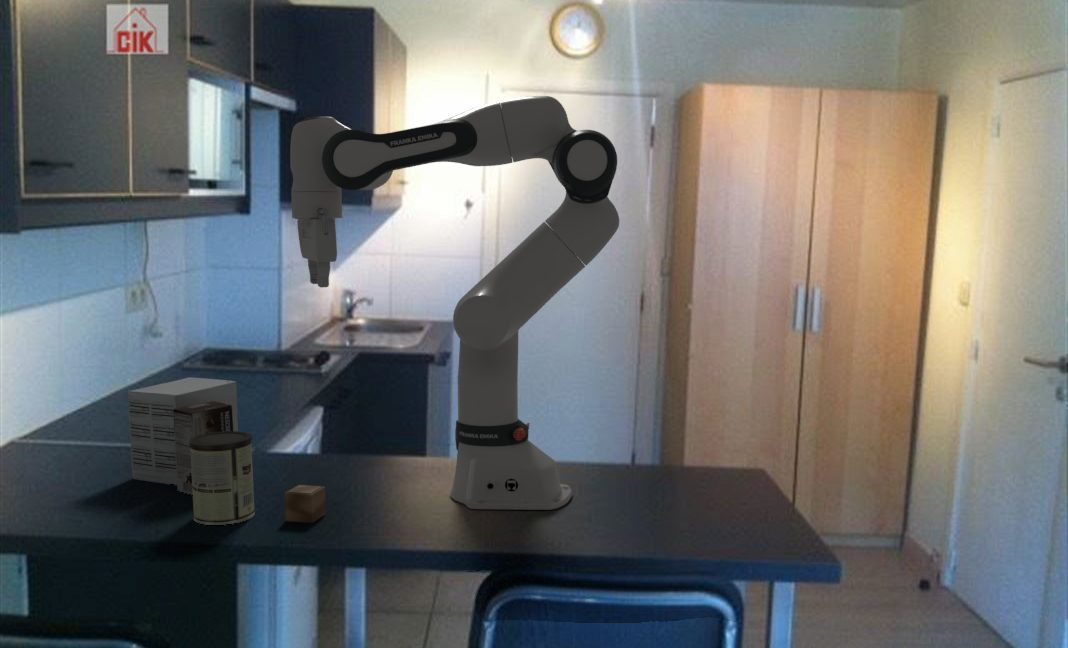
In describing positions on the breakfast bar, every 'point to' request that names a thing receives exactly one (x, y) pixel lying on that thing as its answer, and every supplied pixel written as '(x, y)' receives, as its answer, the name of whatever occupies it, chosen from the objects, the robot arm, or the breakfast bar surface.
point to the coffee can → (222, 477)
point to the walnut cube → (305, 503)
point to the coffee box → (196, 434)
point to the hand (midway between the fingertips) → (319, 285)
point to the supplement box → (168, 422)
